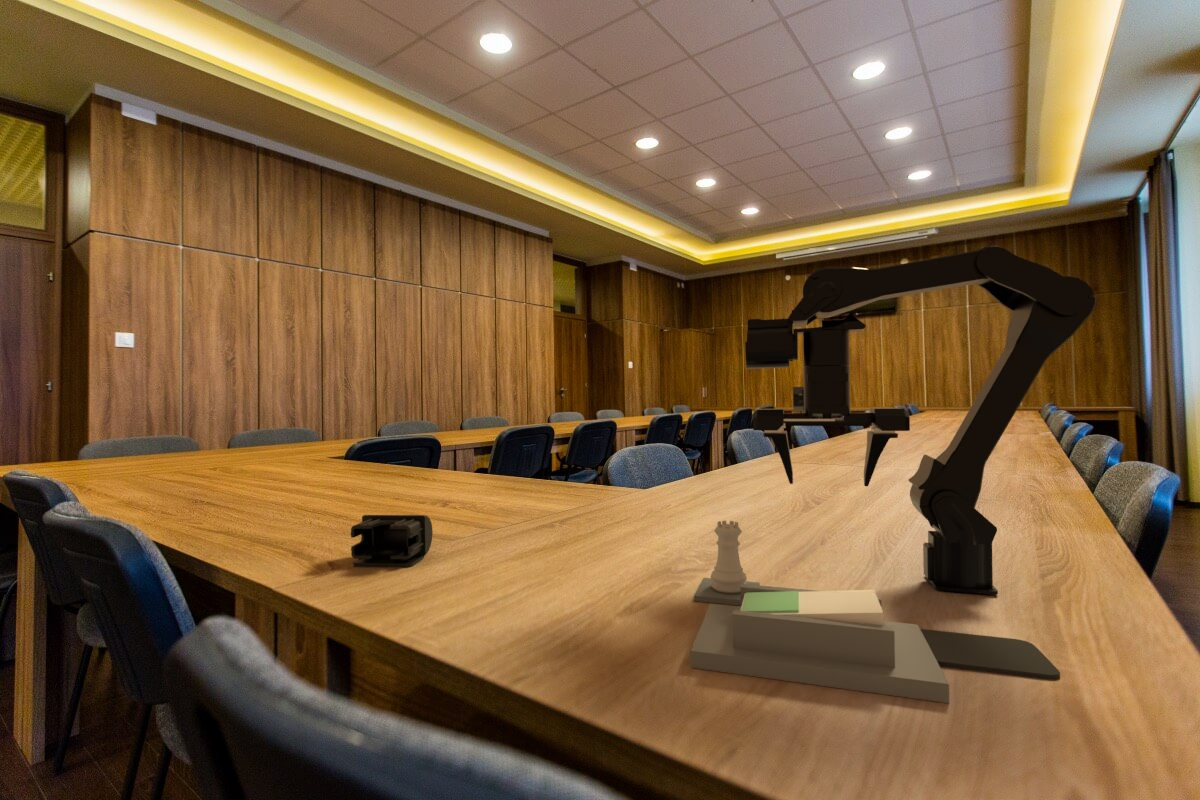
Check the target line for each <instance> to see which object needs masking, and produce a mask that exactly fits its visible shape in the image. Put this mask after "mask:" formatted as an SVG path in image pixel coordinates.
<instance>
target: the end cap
mask: <svg viewBox="0 0 1200 800" xmlns="http://www.w3.org/2000/svg"><path fill="white" fill-rule="evenodd" d="M358 536H360V537H361V538H360V541H359V542H358V543H356V544H354V545H351V547H350V551H351V557H352V558H353V559H357V560H355V561H353V562H352V563H353V564H352V566H353V567H354V568H357V567H359V568H401V569H402V568H407V569H408V568H412V567H414V566H415V565H417V564H419V563H420V562H422V561H423V560H424V558H425V557H426V555H427V554H428V553H429V550H430V548H431V547H432V546H431V545H432V541H433V524H432V520H431V519H430V517H429V516H428V515H425V514H364V515H362V516H361V522H359V523H357V524H355V525H353V526H351V528H350V538H353V539H354V538H357V537H358Z"/></svg>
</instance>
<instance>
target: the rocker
mask: <svg viewBox="0 0 1200 800" xmlns="http://www.w3.org/2000/svg"><path fill="white" fill-rule="evenodd" d="M876 593H877V592H876V591H875V589H850V590H849V589H847V590H845V589H844V590H843V589H842V590H816V591H808V592H798V591H783V592H750V593H745V595H744V599H743V602H742V606H740V607H741V610H740V611H747V612H756V613H766V614H776V615H785V616H795V617H805V618H814V619H824V620H834V621H843V622H853V623H863V624H873V625H882V626H885V621H886V620H885V615H884V610H883V609H882V605H881V606H880V603H879V601H878V598H877V596H878V595H877V594H876Z"/></svg>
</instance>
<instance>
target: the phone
mask: <svg viewBox="0 0 1200 800" xmlns="http://www.w3.org/2000/svg"><path fill="white" fill-rule="evenodd" d="M920 630H921V632H922V634H923V636H924V637H925V639H926V641H927V643H928V645H929V647H930V649H931V651H932V653H933V655H934V656H935V658H936V660H937V662H938V664H939V666H940V668H945V669H946V668H947V669H954V670H955V669H956V670H963V671H972V672H973V671H974V672H981V673H990V674H997V675H998V674H999V675H1005V676H1015V677H1023V678H1024V677H1025V678H1032V679H1033V678H1034V679H1041V680H1049V681H1054V680H1057V681H1058V680H1059V679H1060V678H1061V672H1060V670H1059V669H1058V668H1057V667H1056V666H1055V664H1053V663H1052V661H1051V660H1050V659H1048V658H1047V656H1045V654H1044V653H1042V652H1041V650H1040V649H1039V648H1038V647H1037V646H1036V645H1034V644H1033V643H1032V642H1030V641H1026V640H1022V639H1017V638H1011V637H1010V638H1009V637H1000V636H991V635H982V634H981V635H980V634H974V633H964V632H963V633H962V632H953V631H947V630H946V631H944V630H935V629H927V628H926V629H925V628H920Z"/></svg>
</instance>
